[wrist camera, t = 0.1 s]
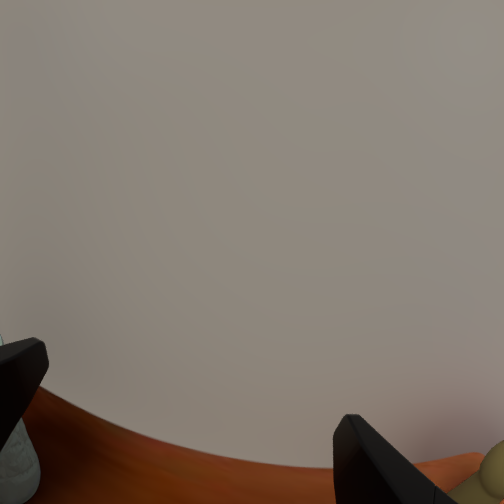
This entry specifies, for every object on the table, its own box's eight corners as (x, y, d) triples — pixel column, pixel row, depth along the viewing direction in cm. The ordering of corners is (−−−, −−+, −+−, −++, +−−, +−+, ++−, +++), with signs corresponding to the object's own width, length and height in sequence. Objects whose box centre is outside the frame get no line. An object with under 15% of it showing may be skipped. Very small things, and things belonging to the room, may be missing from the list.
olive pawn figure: (451, 497, 14) (522, 421, 11) (467, 538, 8) (554, 465, 5) (405, 511, 14) (484, 435, 11) (419, 559, 8) (518, 492, 5)
